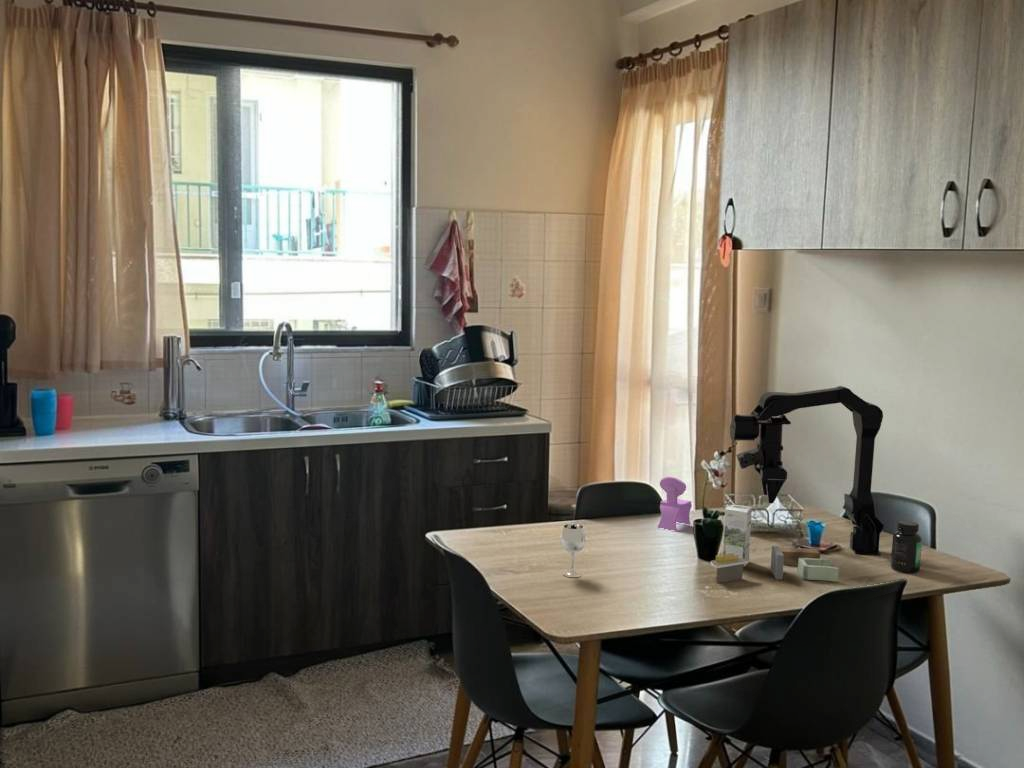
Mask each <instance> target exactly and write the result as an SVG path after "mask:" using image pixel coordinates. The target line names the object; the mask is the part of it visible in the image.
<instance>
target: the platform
mask: <svg viewBox="0 0 1024 768" xmlns="http://www.w3.org/2000/svg"><path fill="white" fill-rule="evenodd" d="M725 555H726V557H725ZM728 555H729V556H728ZM731 555H732V556H731ZM738 556H739V554H738V555H736V556H735V555H734V553H729V554H723V553H722V554H717V555H715V559H714V560H710V565H711V567H713V568H715V569H716V576H715V577H716V581H715V583H716V584H720V583H726V582H730V581H731V582H732V581H737V580H743V576H744V575H743V572H744V571H743V570H744V567H743V564H746V563H747V564H749V562H748V560H746V559H741V558H738Z"/></svg>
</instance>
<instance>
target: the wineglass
mask: <svg viewBox="0 0 1024 768" xmlns="http://www.w3.org/2000/svg"><path fill="white" fill-rule="evenodd" d="M584 529H585V528H584V526H583V525H582V524H578V523H577V524H576V523H568V524H567V523H566V524H564V525H563V527H562V531H561V534H560V535H561V537H560V542H561V543H560V544H561V547H562V549H563V550H565V551H566V552H568V553H570V555H569V557H570V558H569V559H570V563H571V564H570V565H571V566H570V567H571V568H570V571H566V572H567V574H568V575H572V576H575V575H578V573H579V572H577V571H575V570H574V561H575V553H578V552H581V551H582V550H583V549H584V547H585V543H586V535H585V530H584ZM576 572H577V573H576Z"/></svg>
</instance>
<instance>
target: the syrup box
mask: <svg viewBox="0 0 1024 768" xmlns="http://www.w3.org/2000/svg"><path fill="white" fill-rule="evenodd" d="M752 508H753V507H752V506H746V505H739V504H738V505H737V504H728V505H727V506H726V508H725V510H724V522H723V523H724V524H723V525H724V527H723V546H722V549H723V551H722V554H729V553H734V555H735V556H736V555H738V554H739V556H738V558H741V559H746V560H748V563H749V562H750V546H751V544H750V542H751V528H752V527H751V525H752V512H753V511H752V510H753V509H752ZM728 556H729V555H728ZM731 556H732V555H731ZM725 557H726V555H725ZM748 563H746V564H743V568H745V567H746V566H747V565H748Z"/></svg>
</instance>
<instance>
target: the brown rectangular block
mask: <svg viewBox="0 0 1024 768" xmlns="http://www.w3.org/2000/svg"><path fill="white" fill-rule="evenodd" d="M779 548H780V550H781V552H782V553H783V555H784V562H783V565H797V566H798V558H814V559H821V552H820V551H819V549H818V548H804V547H803V548H802V547H801V548H799V547H798V548H797V547H779Z"/></svg>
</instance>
